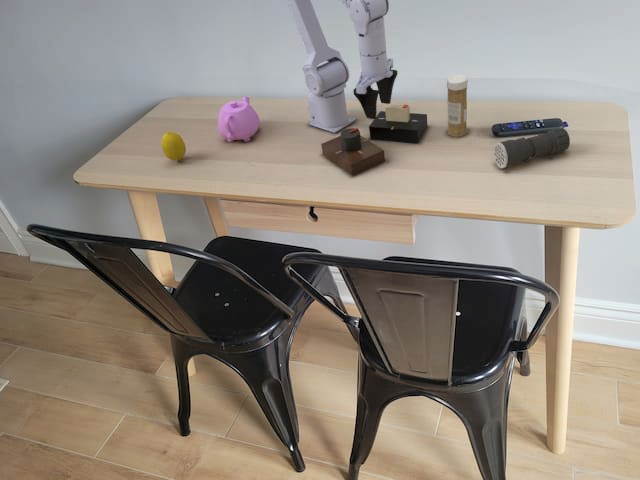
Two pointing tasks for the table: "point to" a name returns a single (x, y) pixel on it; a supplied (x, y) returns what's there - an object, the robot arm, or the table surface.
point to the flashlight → (530, 147)
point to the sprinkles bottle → (457, 105)
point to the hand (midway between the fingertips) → (378, 110)
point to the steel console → (398, 128)
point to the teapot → (238, 120)
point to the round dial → (351, 139)
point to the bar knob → (397, 113)
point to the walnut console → (353, 155)
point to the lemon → (173, 146)
